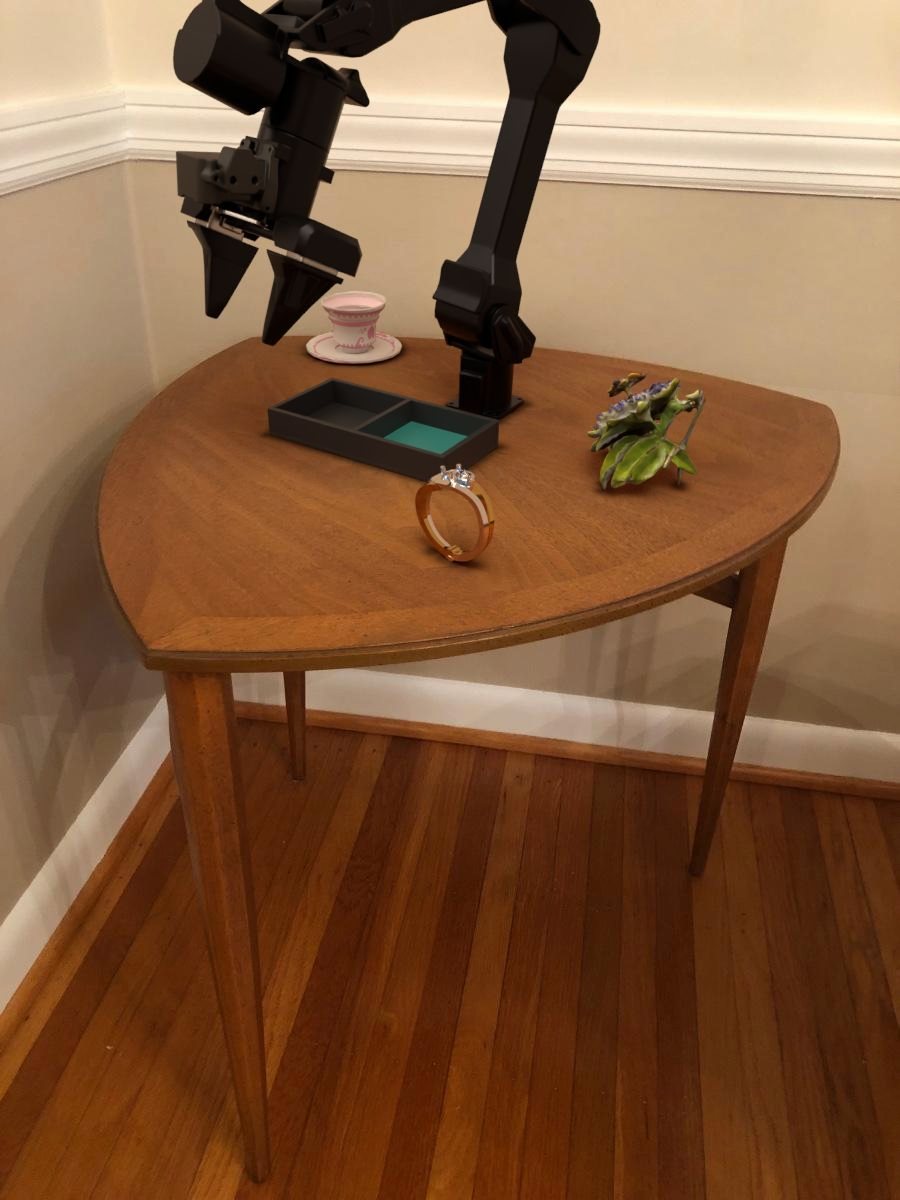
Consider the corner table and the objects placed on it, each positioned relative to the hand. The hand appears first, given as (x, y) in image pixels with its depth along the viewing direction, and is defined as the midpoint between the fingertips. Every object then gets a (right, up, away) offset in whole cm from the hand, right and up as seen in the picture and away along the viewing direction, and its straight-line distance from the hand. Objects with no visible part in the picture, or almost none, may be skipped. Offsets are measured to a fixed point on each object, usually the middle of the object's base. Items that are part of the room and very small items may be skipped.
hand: (238, 330), depth 79 cm
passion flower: (+37, -11, +11) cm, 40 cm away
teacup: (+6, +9, +39) cm, 41 cm away
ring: (+18, -20, -3) cm, 27 cm away
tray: (+11, -7, +16) cm, 21 cm away
